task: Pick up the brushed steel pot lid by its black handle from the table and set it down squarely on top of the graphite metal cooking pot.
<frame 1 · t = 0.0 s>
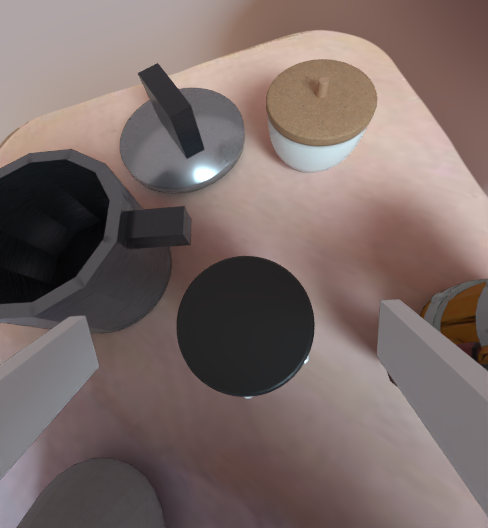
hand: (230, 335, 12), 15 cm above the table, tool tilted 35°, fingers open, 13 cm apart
pot: (111, 270, 31), on the table
mug: (448, 350, 25), on the table
lidded jar: (309, 154, 34), on the table
coffee pot: (99, 461, 24), on the table
lid: (186, 146, 36), on the table
jar: (254, 336, 27), on the table
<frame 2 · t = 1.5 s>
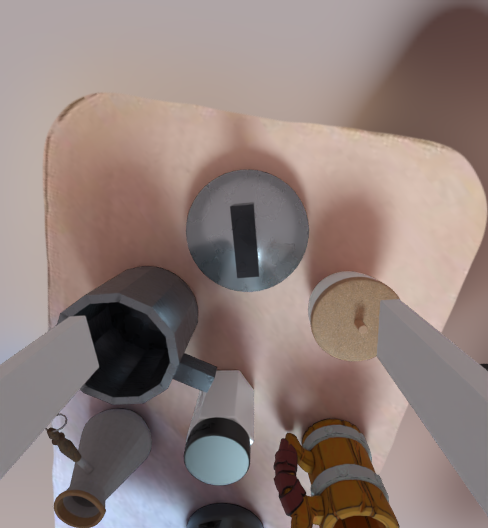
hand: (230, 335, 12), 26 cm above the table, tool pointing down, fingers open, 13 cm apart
pot: (152, 310, 41), on the table
mug: (317, 438, 46), on the table
lidded jar: (337, 296, 39), on the table
coffee pot: (123, 402, 46), on the table
lid: (247, 231, 37), on the table
jar: (227, 389, 44), on the table
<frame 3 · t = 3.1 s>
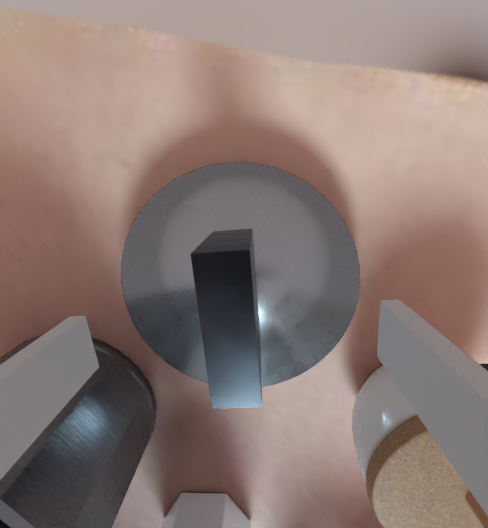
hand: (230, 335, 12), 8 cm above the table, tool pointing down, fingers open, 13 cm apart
pot: (78, 402, 24), on the table
lidded jar: (399, 389, 22), on the table
lid: (240, 278, 20), on the table
jar: (207, 516, 27), on the table
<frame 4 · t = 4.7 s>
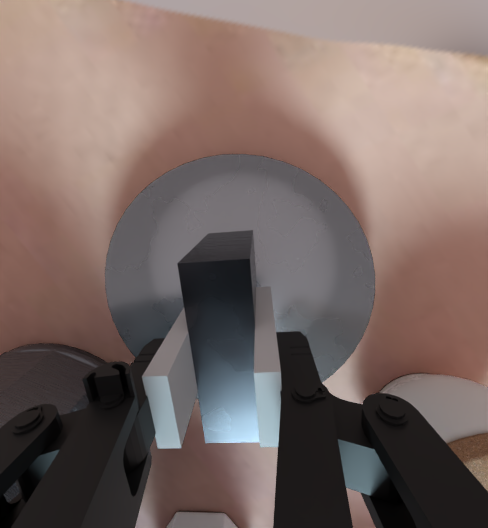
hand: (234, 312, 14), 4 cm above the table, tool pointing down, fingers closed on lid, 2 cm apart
pot: (65, 417, 22), on the table
lidded jar: (413, 405, 20), on the table
lid: (239, 284, 18), on the table, touching gripper
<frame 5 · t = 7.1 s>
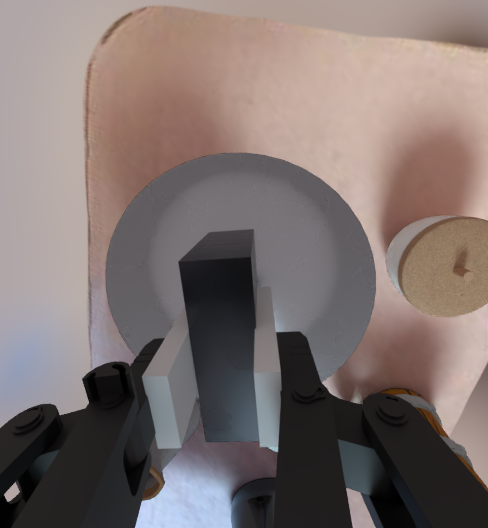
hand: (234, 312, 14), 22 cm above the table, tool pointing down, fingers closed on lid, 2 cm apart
mug: (378, 409, 42), on the table
lidded jar: (413, 251, 35), on the table
coffee pot: (168, 372, 42), on the table
lid: (239, 284, 18), point 18 cm above the table, touching gripper
when the fingers open (15 cm above the table, at t = 9.8 s): lid drops 1 cm, resting on pot.
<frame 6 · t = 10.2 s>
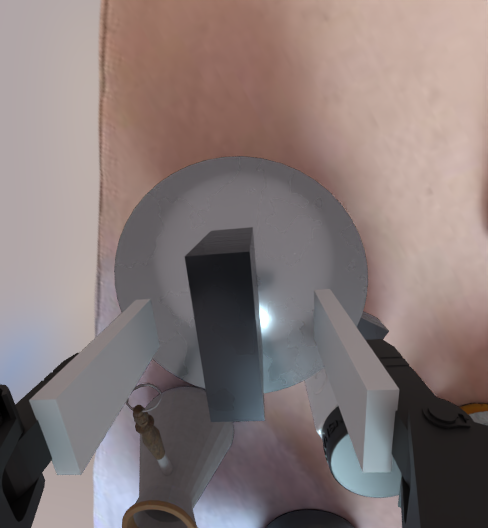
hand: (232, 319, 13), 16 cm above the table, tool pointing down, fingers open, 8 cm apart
pot: (246, 247, 29), on the table
mug: (452, 428, 34), on the table
coffee pot: (193, 378, 34), on the table
lid: (240, 279, 19), point 10 cm above the table, touching pot
jar: (337, 361, 32), on the table
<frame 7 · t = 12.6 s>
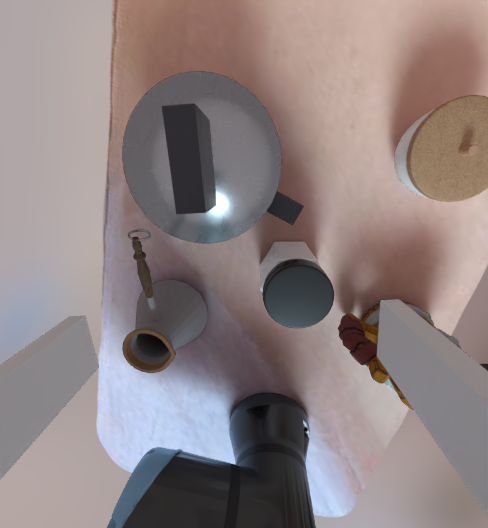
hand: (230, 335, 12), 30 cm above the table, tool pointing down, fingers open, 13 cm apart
pot: (219, 168, 38), on the table
mug: (376, 323, 45), on the table
lidded jar: (420, 156, 36), on the table
coffee pot: (178, 277, 44), on the table
lid: (205, 166, 29), point 10 cm above the table, touching pot
jar: (288, 265, 42), on the table
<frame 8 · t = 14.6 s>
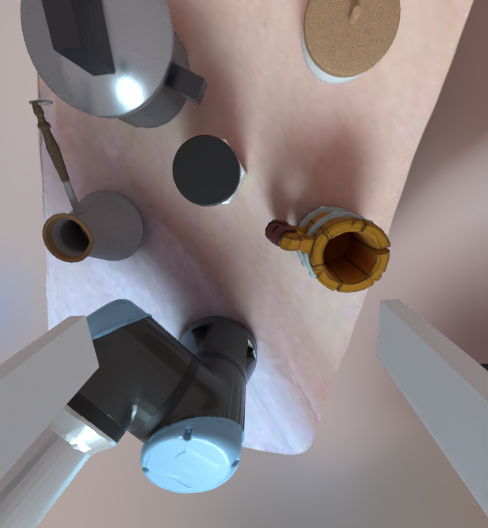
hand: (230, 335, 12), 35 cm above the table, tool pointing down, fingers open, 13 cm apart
pot: (143, 75, 40), on the table
mug: (311, 234, 45), on the table
lidded jar: (333, 53, 38), on the table
coffee pot: (115, 195, 45), on the table
lid: (106, 41, 30), point 10 cm above the table, touching pot
jar: (219, 175, 43), on the table
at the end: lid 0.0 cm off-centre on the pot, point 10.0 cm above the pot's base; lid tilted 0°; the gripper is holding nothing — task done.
